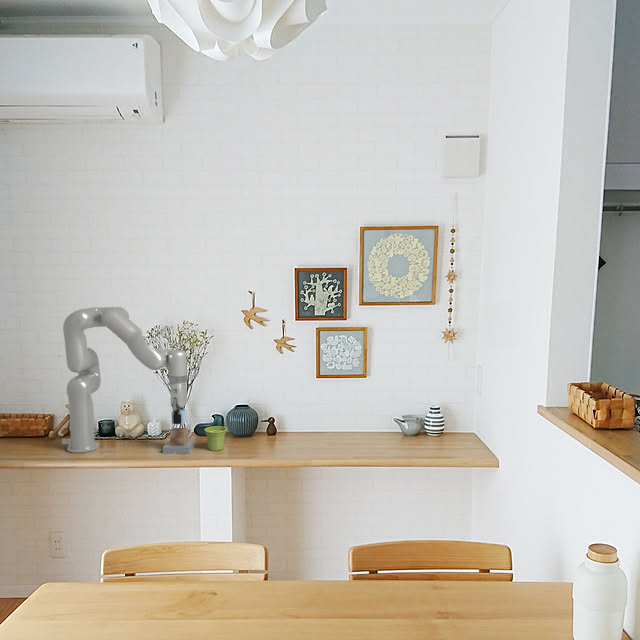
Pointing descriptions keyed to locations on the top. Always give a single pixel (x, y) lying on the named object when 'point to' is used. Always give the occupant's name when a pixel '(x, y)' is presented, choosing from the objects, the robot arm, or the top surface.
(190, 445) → the slate base
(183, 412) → the blue block
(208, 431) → the plant pot
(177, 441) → the walnut block
